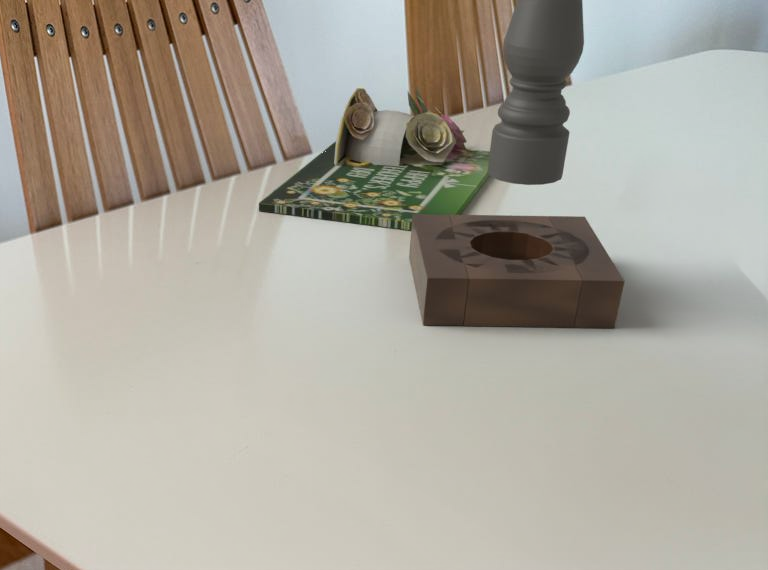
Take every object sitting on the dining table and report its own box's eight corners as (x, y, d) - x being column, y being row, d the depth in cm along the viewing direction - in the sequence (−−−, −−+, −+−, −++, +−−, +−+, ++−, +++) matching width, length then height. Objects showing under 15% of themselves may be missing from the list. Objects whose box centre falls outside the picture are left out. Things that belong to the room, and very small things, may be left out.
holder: (576, 259, 99) (584, 216, 97) (614, 328, 87) (624, 281, 84) (408, 257, 99) (412, 213, 97) (422, 325, 87) (427, 278, 85)
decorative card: (355, 66, 128) (517, 81, 123) (352, 134, 133) (507, 150, 128) (258, 131, 105) (453, 152, 99) (258, 210, 109) (445, 234, 104)
